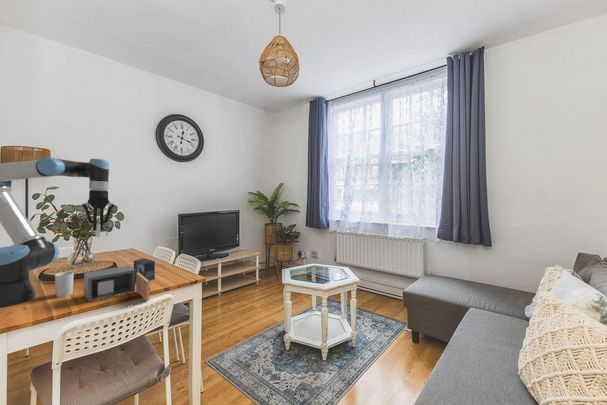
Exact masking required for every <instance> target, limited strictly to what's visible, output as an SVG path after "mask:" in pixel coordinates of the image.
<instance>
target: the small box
mask: <svg viewBox="0 0 607 405" xmlns="http://www.w3.org/2000/svg"><path fill="white" fill-rule="evenodd" d="M155 265H156V262H155V260H151V259H148V258H145V257H143V258H139V259H135V260H133V269H135V280H136V273H140V274H141V275H142V276H144V277H145V278H146V279H147V280H149V282H150V281H153V280H155V278H156V270H155V268H156V267H155Z"/></svg>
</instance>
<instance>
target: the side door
mask: <svg viewBox="0 0 607 405" xmlns="http://www.w3.org/2000/svg"><path fill="white" fill-rule="evenodd" d="M151 290H152V289H151V287H150V281H149V280H147V279H146V278H145V277H144V276H142V275H141V274H140V273H136V279H135V292H136V293H138V294H139V295H140V296H141V297H142V298H143V299H144V300H145V301H146V302H148V301H150V291H151Z"/></svg>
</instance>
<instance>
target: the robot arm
mask: <svg viewBox="0 0 607 405" xmlns="http://www.w3.org/2000/svg"><path fill="white" fill-rule="evenodd" d="M109 174H110V164H109V160H107V159H103V158H90V159H89V162H87V161H85V162H83V161H73V160H68V159H66V160H65V159H61V158H56V157H43V158H41V159H37V160H26V161H25V160H23V161H14V162H2V163H0V225H1V226H2V228H3V229H4V231H5V232H6V234H7V236H8V237H9V238H10V240H11V241H12V242H13V245H12V244H11V245H9V246H4V247H3V246H1V247H0V308H2V307H10V306H14V305H17V304H20V303H24V302H27V301H30V300H32V299H33V298H35V296H36V290H35V288H34V286H33V284H32V282H31V280H30V271H33V270H35V269H38V268H43V267H46V266H48V265H49V264H53V262H54V261H56V260H57V258H58V255H59V254H60V251H59V247H58V245H57V244H56V243H54V242H52V241H47V239H46V237H45V236H44V235H39V234H38V233H37V231H36V230H35V228H34V227H33V226H32V224H31V223H30V221H29V219H28V218H27V217H26V215H25V213H24V212H23V210H22V209H21V207H20V206H19V204H18V202H17V201H16V200H15V198H14V197H13V195H12V193H11V192H12V190H13V188H12V186H13V181H15V180H16V181H17V180H27V179H28V180H29V179H37V178H44V177H45V178H48V177H49V178H50V177H69V178H89V183H88V186H89V187H88V189H89V191H88V199H87V201H86V202H85V203H82V204H81V206H82V207H83V208H84V211H85V214H86V218H87V221H88V223H89V224H92V230H93V231H95V237H96V238H101V231H103V229H104V224H106V223H108V222H109V218H110V216H111V212H112V210H113V208H114V207H115V204H114V203H113V202H112V203H111V202H110V200H109V191H108V190H109V177H110V175H109ZM89 206H90V207H91V208H92V209H93V210H92V211H93V216H91V213H90V210H89ZM107 206H108V208H107V211H106V214H104V210H105V208H106V207H107ZM98 209H99V223H98ZM104 215H105V217H104ZM92 217H93V218H92Z"/></svg>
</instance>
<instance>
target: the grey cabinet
mask: <svg viewBox="0 0 607 405" xmlns="http://www.w3.org/2000/svg"><path fill="white" fill-rule="evenodd" d="M83 277H84V278H83V280H84V282H83V284H84V285H83V291H84V292H83V293H84V294H83V295H84V298H85V297H86V298H85V300H86V299H87V300H88V301H87V300H86V301H87V303H90V302H89V301H93V300H97V299H101V300H103V299H102V298H106V297H110V298H112V297H111V296H114V297H116V296H115V295H118V294H123V293H127V294H130V293H129V292H132V293H135V292H136V279H135V269H134V267H132V266H131V265H124V266H117V267H112V268H105V269H100V270H93V271H87V272H84V274H83ZM134 291H135V292H134ZM123 295H124V294H123ZM106 299H107V298H106ZM97 301H98V300H97ZM93 302H94V301H93Z"/></svg>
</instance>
